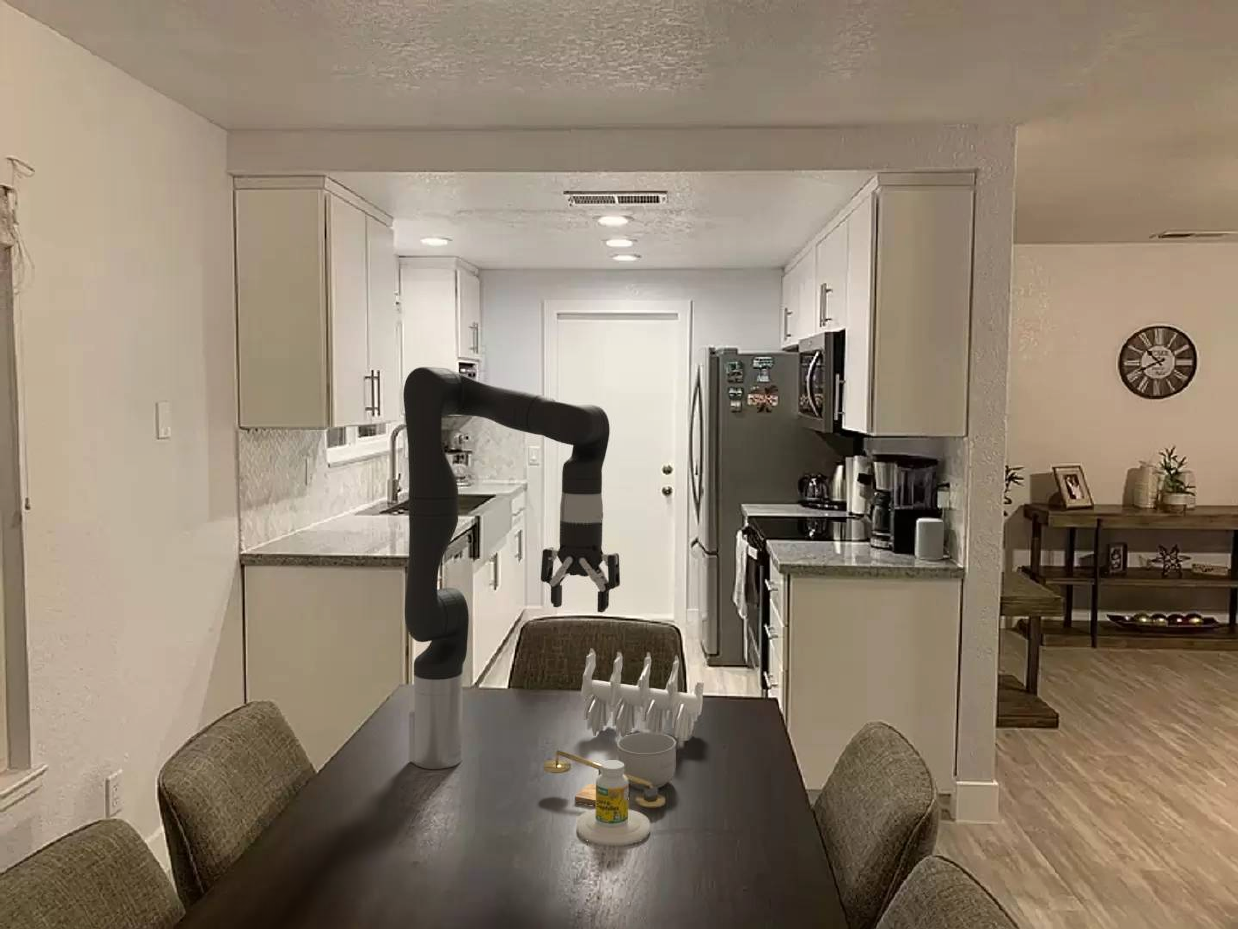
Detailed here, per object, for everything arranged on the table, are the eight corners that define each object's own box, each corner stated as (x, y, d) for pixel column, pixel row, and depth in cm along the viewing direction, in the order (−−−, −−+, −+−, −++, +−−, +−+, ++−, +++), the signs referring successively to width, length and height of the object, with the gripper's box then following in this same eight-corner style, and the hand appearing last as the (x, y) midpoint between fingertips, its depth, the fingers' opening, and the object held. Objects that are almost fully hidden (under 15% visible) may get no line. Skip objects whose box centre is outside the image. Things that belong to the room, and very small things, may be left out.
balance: (536, 796, 177) (537, 753, 176) (551, 783, 183) (551, 742, 182) (658, 818, 169) (659, 773, 168) (669, 805, 174) (670, 761, 174)
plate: (564, 838, 161) (564, 829, 161) (593, 809, 172) (593, 801, 172) (634, 852, 156) (634, 843, 156) (659, 821, 168) (659, 814, 168)
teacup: (670, 798, 177) (671, 754, 177) (610, 792, 180) (611, 748, 179) (681, 769, 191) (682, 728, 190) (625, 763, 193) (626, 723, 193)
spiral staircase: (693, 769, 202) (574, 750, 207) (707, 708, 216) (595, 692, 222) (693, 701, 193) (568, 683, 198) (708, 643, 207) (591, 627, 213)
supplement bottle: (631, 817, 166) (633, 760, 165) (622, 830, 161) (623, 772, 160) (601, 812, 168) (602, 756, 167) (590, 825, 162) (591, 768, 162)
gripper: (535, 517, 175) (533, 609, 176) (610, 523, 170) (608, 617, 171) (553, 513, 182) (552, 601, 183) (626, 518, 177) (624, 609, 178)
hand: (579, 609), depth 177 cm, fingers open, 8 cm apart
